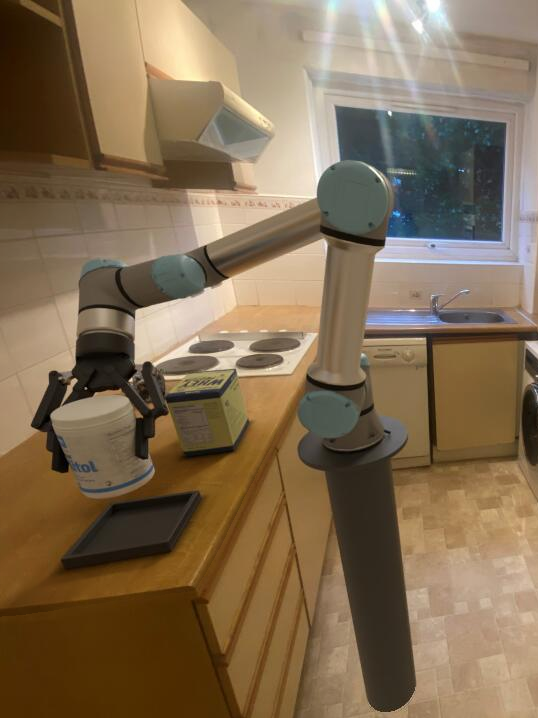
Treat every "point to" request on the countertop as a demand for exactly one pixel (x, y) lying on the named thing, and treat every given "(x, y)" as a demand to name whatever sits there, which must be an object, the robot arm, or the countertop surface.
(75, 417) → the supplement tub
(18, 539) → the countertop surface
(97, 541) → the pad
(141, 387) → the grey furry lump
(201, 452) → the protein box
